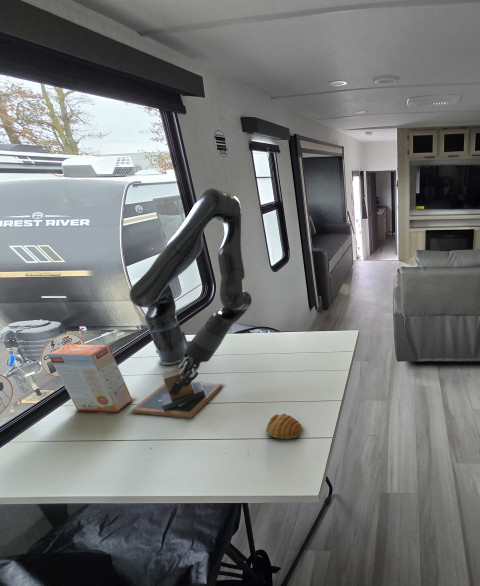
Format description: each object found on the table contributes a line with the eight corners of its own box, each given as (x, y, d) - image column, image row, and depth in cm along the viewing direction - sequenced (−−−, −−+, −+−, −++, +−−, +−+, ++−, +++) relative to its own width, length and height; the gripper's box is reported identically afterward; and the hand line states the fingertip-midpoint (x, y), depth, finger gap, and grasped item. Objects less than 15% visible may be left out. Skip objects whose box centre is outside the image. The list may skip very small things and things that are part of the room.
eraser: (163, 400, 97) (152, 374, 93) (202, 385, 103) (194, 360, 99) (164, 411, 93) (153, 384, 89) (205, 395, 99) (196, 369, 95)
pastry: (307, 425, 87) (305, 415, 86) (293, 444, 81) (291, 434, 80) (279, 418, 90) (277, 408, 89) (264, 436, 84) (261, 426, 83)
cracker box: (134, 399, 100) (109, 343, 92) (117, 413, 94) (89, 355, 86) (95, 397, 101) (68, 342, 93) (76, 410, 96) (45, 353, 88)
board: (169, 383, 107) (168, 380, 107) (221, 387, 104) (220, 384, 104) (133, 412, 94) (131, 409, 94) (191, 418, 91) (190, 414, 91)
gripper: (221, 357, 94) (186, 406, 92) (213, 338, 105) (182, 382, 103) (196, 348, 89) (159, 400, 87) (191, 330, 100) (157, 375, 98)
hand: (172, 390), depth 95 cm, fingers closed on eraser, 4 cm apart
